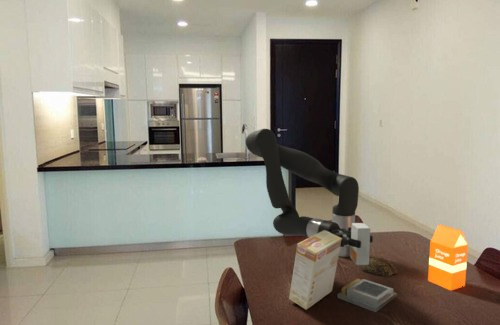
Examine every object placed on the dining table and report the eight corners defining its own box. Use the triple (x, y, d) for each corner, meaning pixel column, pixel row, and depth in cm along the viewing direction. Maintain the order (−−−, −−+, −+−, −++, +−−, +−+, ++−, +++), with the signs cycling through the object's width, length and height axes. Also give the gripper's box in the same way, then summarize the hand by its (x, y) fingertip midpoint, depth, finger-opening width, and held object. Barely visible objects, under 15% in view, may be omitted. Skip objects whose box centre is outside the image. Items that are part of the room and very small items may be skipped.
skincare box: (349, 258, 125) (351, 222, 124) (362, 257, 125) (363, 222, 124) (356, 265, 119) (357, 228, 118) (369, 265, 119) (371, 228, 118)
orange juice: (450, 290, 126) (454, 232, 124) (427, 280, 134) (430, 225, 131) (465, 285, 130) (469, 229, 127) (442, 276, 137) (445, 222, 135)
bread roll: (355, 270, 143) (356, 258, 143) (370, 261, 152) (371, 249, 152) (389, 280, 135) (389, 267, 134) (402, 270, 144) (403, 257, 143)
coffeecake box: (314, 281, 128) (324, 229, 123) (333, 291, 124) (343, 238, 118) (287, 298, 118) (296, 242, 112) (306, 310, 113) (316, 253, 108)
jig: (359, 284, 131) (359, 275, 131) (396, 296, 122) (396, 287, 121) (337, 297, 121) (337, 288, 121) (375, 312, 112) (376, 302, 112)
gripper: (310, 224, 126) (355, 235, 114) (334, 216, 136) (378, 226, 124) (310, 246, 127) (354, 259, 115) (334, 236, 137) (377, 248, 125)
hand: (366, 242), depth 120 cm, fingers closed on skincare box, 7 cm apart
